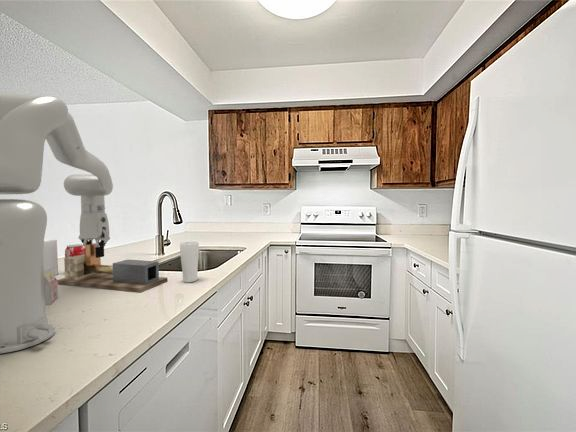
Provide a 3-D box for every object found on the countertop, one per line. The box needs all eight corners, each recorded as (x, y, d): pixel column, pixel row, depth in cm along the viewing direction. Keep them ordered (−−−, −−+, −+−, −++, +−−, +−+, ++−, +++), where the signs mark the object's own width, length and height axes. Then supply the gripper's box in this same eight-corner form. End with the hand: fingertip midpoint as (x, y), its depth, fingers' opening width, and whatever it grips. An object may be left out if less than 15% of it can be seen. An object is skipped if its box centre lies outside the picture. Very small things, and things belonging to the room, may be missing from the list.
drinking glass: (177, 281, 112) (176, 243, 111) (190, 277, 118) (189, 241, 117) (189, 284, 108) (189, 244, 108) (202, 279, 114) (202, 242, 114)
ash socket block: (101, 273, 118) (100, 254, 118) (77, 280, 108) (76, 259, 108) (89, 272, 120) (88, 253, 119) (65, 279, 110) (64, 258, 110)
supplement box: (59, 274, 123) (57, 239, 122) (34, 280, 114) (32, 242, 113) (46, 272, 126) (44, 238, 125) (20, 277, 118) (18, 241, 117)
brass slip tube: (133, 274, 110) (132, 245, 110) (125, 276, 106) (124, 246, 106) (88, 270, 116) (87, 242, 115) (78, 272, 112) (77, 244, 111)
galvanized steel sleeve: (158, 279, 109) (158, 261, 109) (145, 285, 102) (144, 265, 102) (128, 277, 113) (127, 259, 112) (113, 282, 106) (112, 263, 106)
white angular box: (35, 306, 86) (33, 273, 85) (43, 299, 92) (42, 268, 92) (51, 304, 87) (49, 272, 87) (58, 297, 94) (56, 267, 93)
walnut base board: (167, 281, 112) (167, 277, 112) (140, 292, 99) (140, 288, 99) (90, 274, 122) (90, 271, 122) (55, 284, 109) (55, 280, 109)
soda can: (61, 274, 123) (60, 246, 122) (77, 270, 130) (76, 243, 129) (73, 275, 121) (72, 247, 120) (89, 271, 128) (88, 244, 127)
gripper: (118, 209, 113) (120, 256, 113) (85, 209, 117) (87, 254, 118) (101, 209, 105) (103, 259, 106) (66, 209, 110) (68, 257, 111)
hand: (94, 256), depth 112 cm, fingers open, 4 cm apart
